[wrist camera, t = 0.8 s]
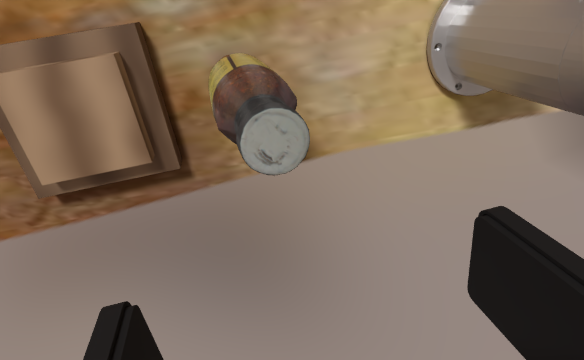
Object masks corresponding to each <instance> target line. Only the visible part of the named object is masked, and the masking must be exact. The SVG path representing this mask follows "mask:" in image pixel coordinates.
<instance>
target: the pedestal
mask: <svg viewBox="0 0 584 360" xmlns="http://www.w3.org/2000/svg"><path fill="white" fill-rule="evenodd" d="M0 128H1V130H2V132H3V134H4V135H5V137H6V139H7V141H8V143H9V145H10V147H11V148H12V150H13V152H14V154H15V156H16V158H17V160H18V161H19V163H20V165H21V167H22V169H23V171H24V172H25V174H26V176H27V178H28V180H29V182H30V184H31V185H32V187H33V189H34V191H35V193H36V195H37V197H38V198H44V197H49V196H53V195H58V194H63V193H67V192H72V191H77V190H82V189H86V188H91V187H96V186H100V185H105V184H110V183H114V182H119V181H124V180H129V179H133V178H138V177H143V176H147V175H152V174H157V173H162V172H166V171H171V170H176V169H180V168H181V163H182V158H181V155H180V151H179V148H178V145H177V142H176V138H175V135H174V132H173V129H172V126H171V122H170V119H169V116H168V113H167V109H166V106H165V103H164V100H163V97H162V93H161V90H160V87H159V84H158V80H157V77H156V74H155V71H154V68H153V64H152V61H151V58H150V55H149V51H148V48H147V45H146V42H145V39H144V35H143V32H142V29H141V26H140V22H137V23H131V24H125V25H119V26H113V27H106V28H100V29H94V30H88V31H82V32H76V33H70V34H64V35H57V36H51V37H45V38H39V39H33V40H27V41H21V42H14V43H8V44H2V45H0Z"/></svg>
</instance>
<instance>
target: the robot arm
mask: <svg viewBox="0 0 584 360" xmlns="http://www.w3.org/2000/svg"><path fill="white" fill-rule="evenodd" d="M434 47H435V48H434ZM427 56H428V63H429V66H430V70H431V72H432V74H433V76H434V78H435V79H436V80H437V82H438V83H439V84H440V85H441V86H442V87H444V88H445V89H447V90H448V91H451V92H453V93H456V94H460V95H464V96H475V95H480V94H484V93H486V92H489V91H491V90H496V91H500V92H503V93H507V94H510V95H513V96H517V97H520V98H524V99H527V100H530V101H534V102H537V103H541V104H544V105H548V106H551V107H554V108H558V109H561V110H565V111H568V112H572V113H575V114H579V115H583V116H584V0H444V2H443V3H442V4H441V6H440V8H439V9H438V11H437V13H436V15H435V17H434V19H433V22H432V24H431V27H430V31H429V35H428V42H427ZM468 293H469V295H470V297H471V299H472V300H473V301H474V303H475V304H476V305H477V306H478V307H479V308H480V309H481V310H482V311H483V313H484V314H485V315H486V316H487V317H488V318H489V319H490V320H491V321H492V322H493V324H494V325H495V326H496V327H497V328H498V329H499V330H500V331H501V332H502V333H503V335H504V336H505V337H506V338H507V339H508V340H509V341H510V342H511V344H512V345H513V346H514V347H515V348H516V349H517V350H518V351H519V352H520V353H521V355H522V356H523V357H524V358H525V359H526V360H584V259H583V258H581V257H579V256H578V255H577V254H575V253H574V252H572V251H570V250H569V249H568V248H566V247H565V246H563V245H562V244H560V243H558V242H557V241H556V240H554V239H553V238H551V237H550V236H548V235H547V234H545V233H544V232H542V231H541V230H539V229H538V228H536V227H535V226H533V225H532V224H530V223H529V222H527V221H526V220H524V219H523V218H521V217H520V216H518V215H517V214H515V213H514V212H512V211H511V210H509V209H508V208H506V207H504V206H498V207H494V208H491V209H487V210H483V211H481V212H480V213H479V216H478V217H477V218H476V219H475V222H474V231H473V240H472V250H471V259H470V268H469V278H468ZM83 360H163V358H162V355H161V353H160V351H159V349H158V347H157V345H156V343H155V340H154V338H153V336H152V334H151V332H150V330H149V328H148V325H147V323H146V321H145V319H144V317H143V315H142V313H141V310H140V308H139V307H138V306H137V305H134V306H131V304H130V303H129V302H127V301H126V302H122V303H118V304H114V305H110V306H106V307H103V308H102V309H101V311H100V313H99V316H98V319H97V322H96V325H95V328H94V331H93V333H92V336H91V339H90V342H89V345H88V347H87V350H86V353H85V356H84V359H83Z"/></svg>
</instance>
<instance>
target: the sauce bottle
mask: <svg viewBox="0 0 584 360" xmlns="http://www.w3.org/2000/svg"><path fill="white" fill-rule="evenodd" d="M208 86H209V94H210V99H211V105H212V110H213V115H214V118H215V120H216V123H217V126H218V129H219V131H221V132H222V133H223V134H224V135H225V136H226V137H227V138H229V139H230V140H231V141H232V142H234V143H235V144H237V146H238V149H239V151H240V153H241V155H242V158H243V159H244V160H245V162H246V163H247V164H248V165H249V167H250V168H252V169H253V170H255V171H257V172H260V173H263V174H266V175H280V174H285V173H287V172H290V171H292V170H293V169H295V168H296V167H297V166H298V165H299V164H300V163H301V162H302V160H303V159H304V158H305V156H306V154H307V151H308V148H309V142H310V137H309V129H308V127H307V125H306V123H305V121H304V120H303V119H302V117H301V116H300V115H299V114H298V113H297V112H296V111H295V109H296V106H297V99H296V96H295V95H294V93H293V92H292V91H291V89H290V87H289V86H288V84H287V83H286V82H285V81H284V80H283V79H282V78H281V77H280V76H279V75H278V74H277V73H275V72H274V71H273V70H271V69H270V68H269V67H268V66H266V65H265V64H263V63H262V62H261V61H259V60H258V59H256V58H255V57H253V56H250V55H247V54H239V53H237V54H231V55H227V56H225V57H223V58H222V59H221V60H219V61H218V63H216V65H215V66H214V67H213V69H212V70H211V73H210V77H209V84H208Z"/></svg>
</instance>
